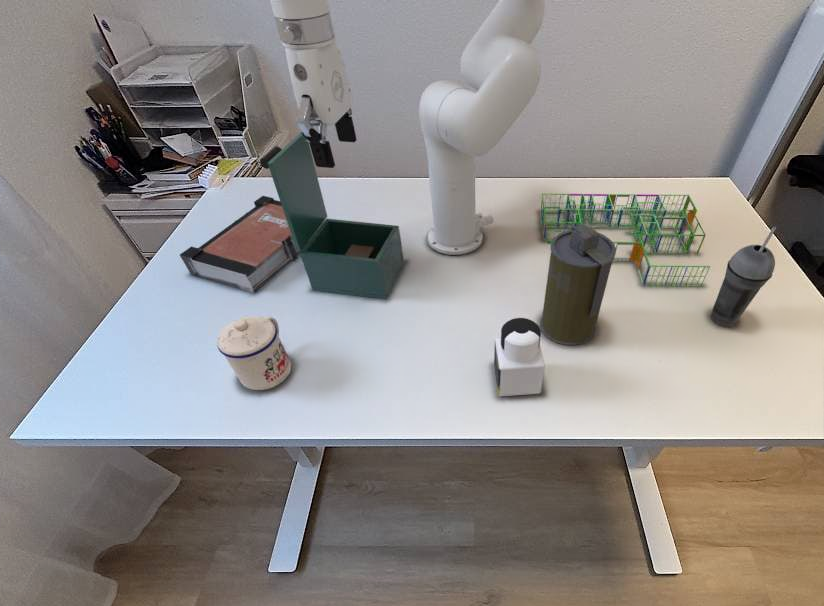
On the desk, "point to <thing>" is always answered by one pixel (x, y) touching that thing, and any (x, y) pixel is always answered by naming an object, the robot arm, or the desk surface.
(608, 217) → the house model
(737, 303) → the beverage cup
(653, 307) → the desk surface
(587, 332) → the canister
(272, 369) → the teacup with lid
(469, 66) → the robot arm
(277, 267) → the book
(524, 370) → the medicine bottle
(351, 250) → the block
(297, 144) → the lid
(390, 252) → the tin
